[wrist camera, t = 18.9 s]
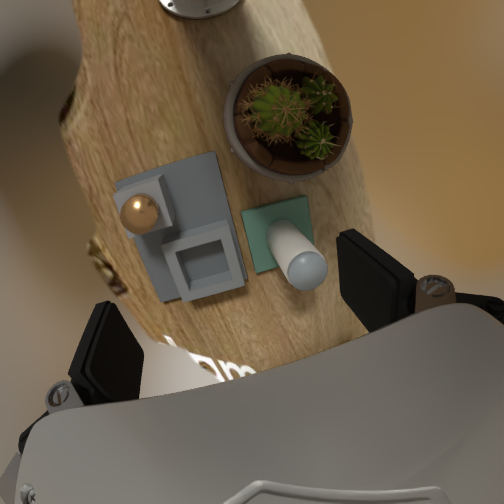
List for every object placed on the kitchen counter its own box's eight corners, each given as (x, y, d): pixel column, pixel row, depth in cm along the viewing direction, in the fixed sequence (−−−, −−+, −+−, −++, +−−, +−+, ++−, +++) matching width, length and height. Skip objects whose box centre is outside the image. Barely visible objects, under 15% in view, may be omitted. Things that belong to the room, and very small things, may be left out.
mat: (240, 211, 40) (241, 213, 39) (304, 195, 41) (307, 196, 40) (254, 270, 45) (256, 273, 44) (313, 253, 45) (315, 255, 44)
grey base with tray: (116, 181, 35) (103, 189, 30) (214, 150, 36) (217, 153, 31) (161, 299, 44) (158, 321, 38) (246, 275, 45) (253, 295, 39)
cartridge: (262, 223, 41) (285, 259, 30) (294, 216, 41) (327, 248, 30) (267, 254, 43) (290, 296, 32) (298, 246, 43) (329, 285, 32)
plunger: (128, 192, 34) (114, 203, 28) (157, 182, 34) (150, 191, 29) (138, 222, 36) (127, 238, 30) (167, 212, 36) (161, 227, 30)
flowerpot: (321, 80, 34) (411, 53, 16) (311, 177, 40) (395, 214, 22) (222, 64, 31) (248, 2, 13) (213, 169, 37) (229, 202, 19)
